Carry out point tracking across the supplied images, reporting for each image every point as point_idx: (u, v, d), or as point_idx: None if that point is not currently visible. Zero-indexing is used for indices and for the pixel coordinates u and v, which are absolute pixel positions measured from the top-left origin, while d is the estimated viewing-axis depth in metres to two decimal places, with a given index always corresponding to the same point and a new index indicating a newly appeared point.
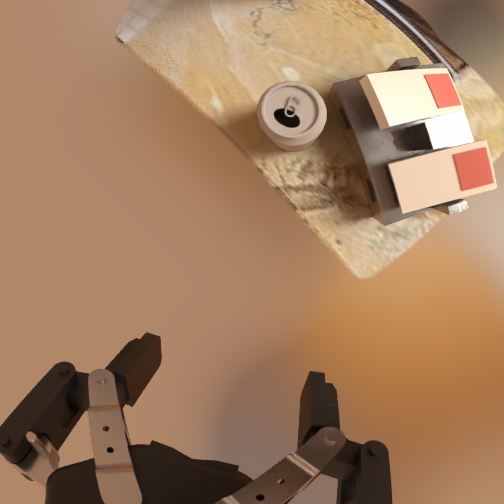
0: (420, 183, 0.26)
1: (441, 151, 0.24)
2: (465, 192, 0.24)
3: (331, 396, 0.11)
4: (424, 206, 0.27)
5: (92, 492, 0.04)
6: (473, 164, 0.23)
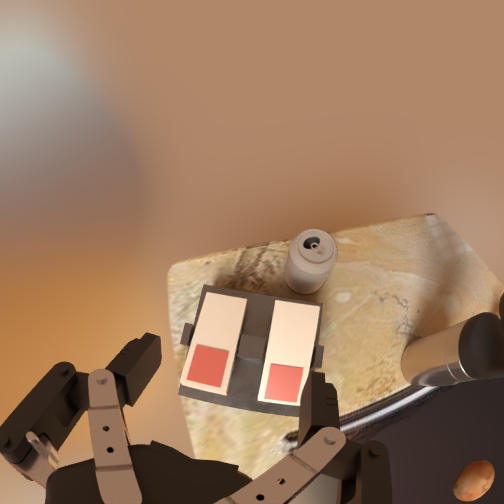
0: (221, 314, 0.38)
1: (236, 343, 0.35)
2: (193, 347, 0.34)
3: (331, 396, 0.11)
4: (202, 309, 0.38)
5: (92, 492, 0.04)
6: (212, 367, 0.33)
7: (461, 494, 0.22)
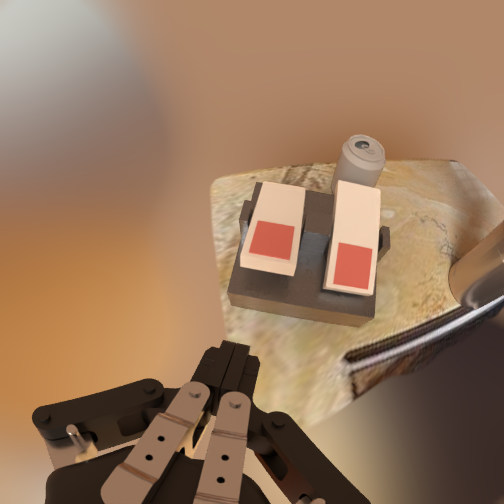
0: (281, 197, 0.36)
1: (301, 220, 0.33)
2: (254, 223, 0.32)
3: (253, 367, 0.13)
4: (261, 193, 0.36)
5: (92, 492, 0.04)
6: (277, 240, 0.31)
7: None
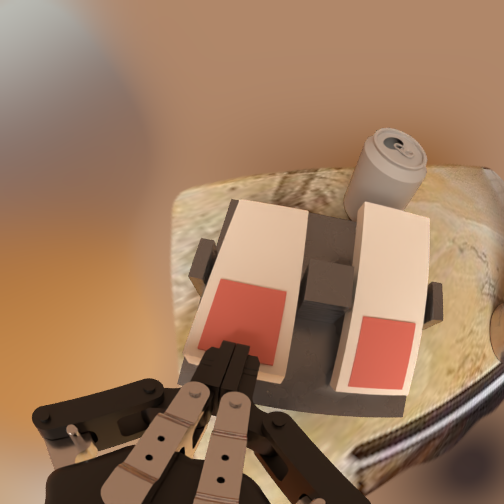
0: (266, 230, 0.21)
1: (298, 277, 0.19)
2: (214, 284, 0.18)
3: (253, 367, 0.13)
4: (232, 222, 0.22)
5: (92, 492, 0.04)
6: (253, 322, 0.16)
7: None
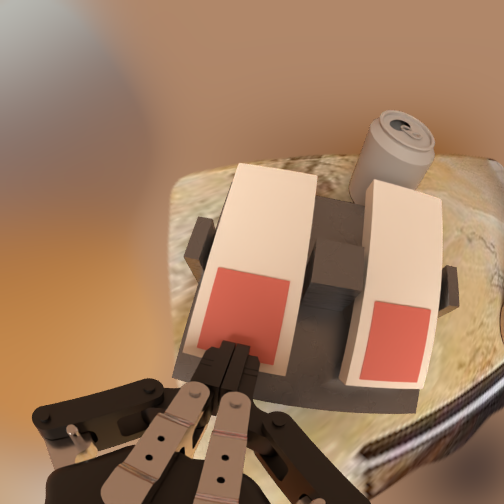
0: (269, 202, 0.19)
1: (304, 262, 0.17)
2: (212, 273, 0.17)
3: (253, 367, 0.13)
4: (230, 193, 0.19)
5: (92, 492, 0.04)
6: (253, 317, 0.16)
7: None
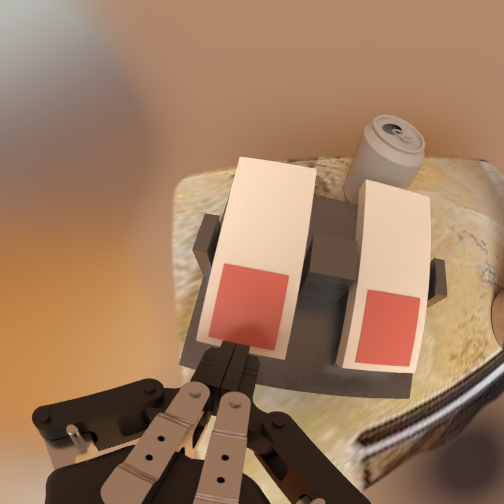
0: (269, 198, 0.20)
1: (302, 257, 0.18)
2: (219, 269, 0.19)
3: (253, 367, 0.13)
4: (233, 189, 0.20)
5: (92, 492, 0.04)
6: (257, 308, 0.18)
7: None
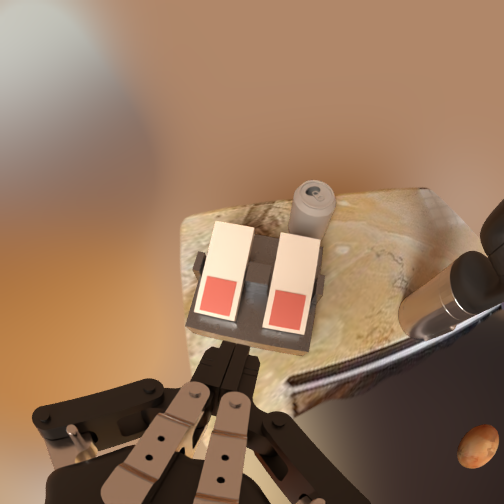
0: (229, 244, 0.41)
1: (243, 273, 0.39)
2: (204, 278, 0.40)
3: (253, 367, 0.13)
4: (212, 239, 0.41)
5: (92, 492, 0.04)
6: (221, 296, 0.39)
7: (466, 459, 0.26)
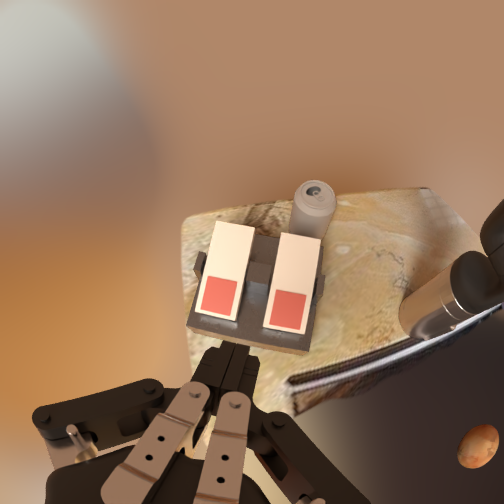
0: (230, 243, 0.41)
1: (244, 273, 0.40)
2: (205, 278, 0.40)
3: (253, 367, 0.13)
4: (212, 239, 0.41)
5: (92, 492, 0.04)
6: (222, 296, 0.39)
7: (466, 458, 0.26)
